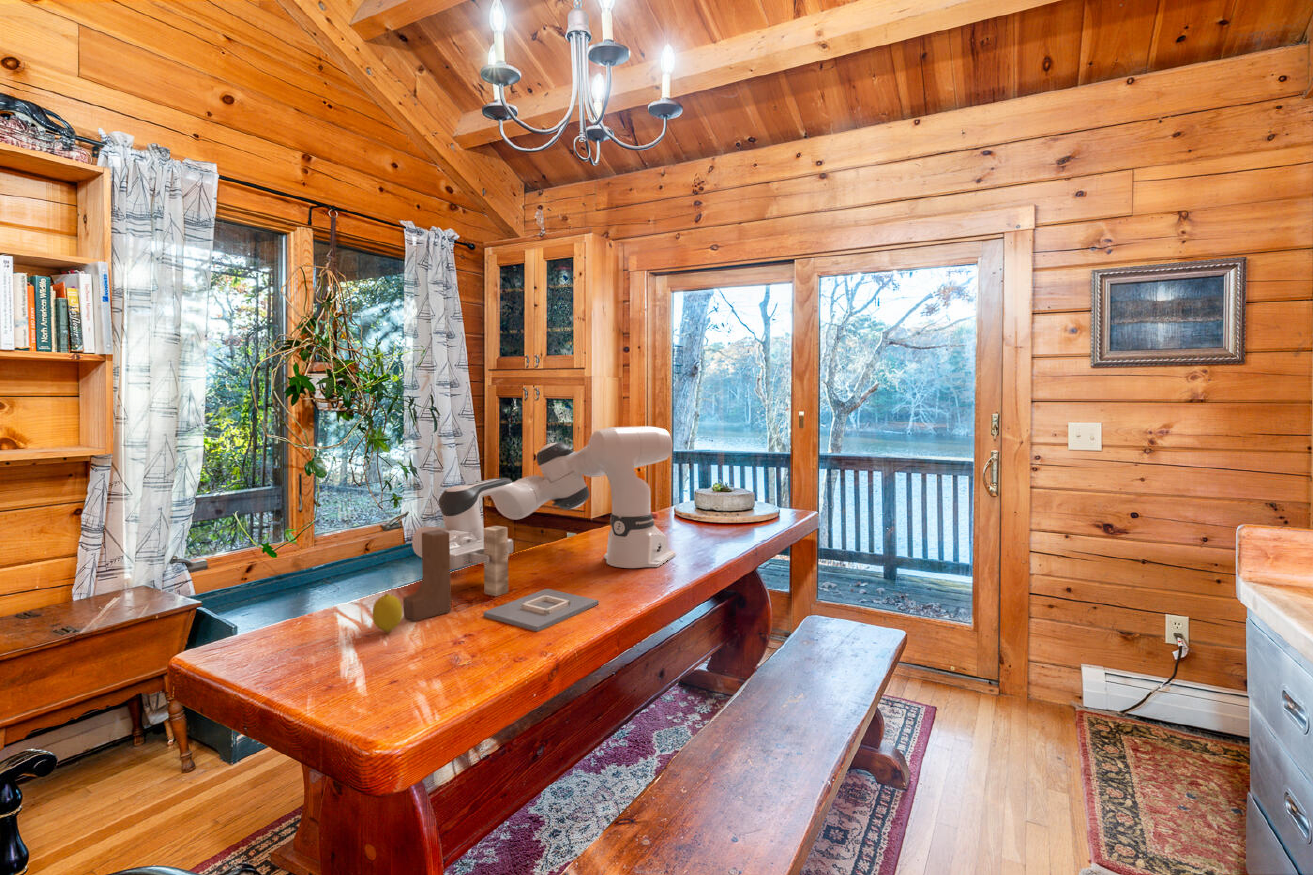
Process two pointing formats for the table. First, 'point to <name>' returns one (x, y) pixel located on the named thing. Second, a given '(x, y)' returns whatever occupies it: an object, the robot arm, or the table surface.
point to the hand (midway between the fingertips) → (498, 556)
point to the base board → (540, 609)
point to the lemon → (387, 612)
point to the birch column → (496, 560)
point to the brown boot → (431, 579)
